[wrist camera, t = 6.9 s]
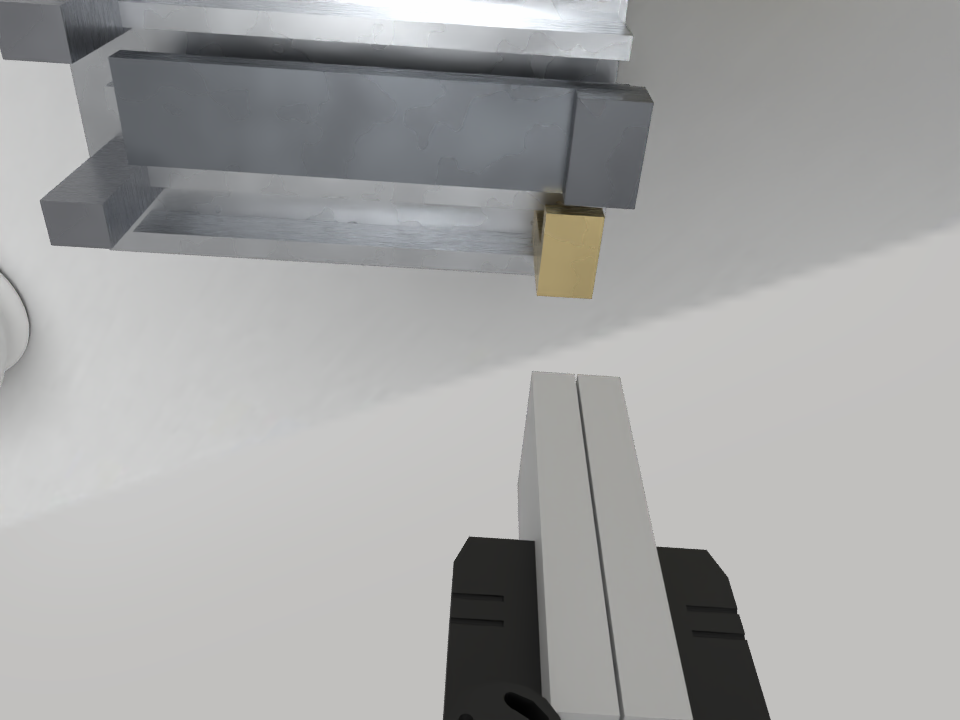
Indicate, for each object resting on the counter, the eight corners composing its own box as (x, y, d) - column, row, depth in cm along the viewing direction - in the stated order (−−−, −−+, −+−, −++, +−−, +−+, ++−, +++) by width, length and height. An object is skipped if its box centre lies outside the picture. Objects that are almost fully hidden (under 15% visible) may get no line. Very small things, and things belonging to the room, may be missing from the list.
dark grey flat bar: (139, 154, 29) (117, 175, 27) (120, 49, 27) (95, 64, 25) (626, 187, 29) (634, 209, 27) (644, 85, 27) (653, 102, 25)
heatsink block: (619, -113, 31) (679, -80, 21) (573, 219, 39) (602, 356, 29) (99, -151, 31) (-86, -136, 21) (158, 194, 39) (44, 324, 29)
